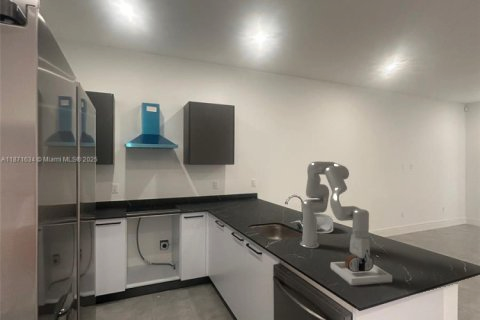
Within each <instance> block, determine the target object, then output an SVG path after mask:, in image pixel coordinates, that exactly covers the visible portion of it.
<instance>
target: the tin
mask: <svg viewBox="0 0 480 320" xmlns="http://www.w3.org/2000/svg"><path fill="white" fill-rule="evenodd" d="M362 260H363V259H362ZM369 260H370V261H368V262H366V263H365V271H370V270H371V269H372V268H373V264H374V265H375V263H374V262H375V261H374V259H373V257H371V255H370V256H369ZM344 262H345V265H346V268H347V269H349V270H350V271H352V272H364V271H359V263H360V258H359V257H357V256H356V255H354V254H352V253H351V254H350V255H348V256H347V257H346V258H345V261H344Z"/></svg>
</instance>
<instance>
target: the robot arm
mask: <svg viewBox="0 0 480 320" xmlns="http://www.w3.org/2000/svg"><path fill="white" fill-rule="evenodd" d="M306 173H307V180H306V181H307V182H306V188H305V195H306V197H307V198H309V199H304V200H303V201H302V202H301V211H302V236H301V238H302V240H301V241H300V243H299V244H300V246H302V247H303V248H306V249H318V248H320V243H318V242H317V241H318V233H317V232H318V229H317V218H316V216H315V215H314V214H324V213H325V212H326V211H327V209H328V204H329V203H330V204H329V205H330V208H331V211H332V214H333V216H334V217H335V218H336V220H338V221H341V222H344V221H345V222H346V221H347V222H348V221H352V226H351V227H352V230H351V231H352V232H351V236H350V242H349V252H350V253H351V255H352V254H354V255H356V256H357V257H359V258H360V263H359V271H365V263H366V262H368V261H370V260H369V256H370V257H371V255H370V254H371V252H370V251H371V247H370V239H369V236H370V235H369V229H370V226H369V225H370V223H369V222H370V213H369V211H368V210H367V209H362V208H360V207H358V206H355V205H347V206H343V205H341V203H340V195H342V194H344V193H345V192H346V191H347V190H348V186H347V185H346V182H345V180H347V179H348V178H349V177H350V171H349V169H348V168H347V167H346V165H343V164H340V163H337V162H333V161H312V162H310V163H309V164H308V166H307V172H306ZM320 175H324V176H325V178H326V179H327V183H328V185H329V187H330V189H329V187H328V186H327V185H326V184H324V183H322V184H321V180H322V178H321V176H320ZM330 190H331V195H330ZM329 198H330V199H329ZM362 259H363V260H362Z"/></svg>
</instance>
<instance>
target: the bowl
mask: <svg viewBox="0 0 480 320" xmlns="http://www.w3.org/2000/svg"><path fill="white" fill-rule="evenodd" d="M314 215H315V216H316V218H317V234H318V233H319V234H329V233H332V232H333V231H334V219H333V217H332V216H330V215H328V214H324V213H314ZM321 229H322V230H324V231H320V230H321Z"/></svg>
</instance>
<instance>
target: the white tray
mask: <svg viewBox="0 0 480 320" xmlns="http://www.w3.org/2000/svg"><path fill="white" fill-rule="evenodd" d="M330 269H331V270H332V272H334V273H335V274H336V275H338V276H339V277H341V278H342V279H343V281H346V282H347V283H348V284H349V285H350V286H361V285H373V284H385V283H386V284H387V283H393V275H392V274H391V273H389V272H387V271H385V270H383V268H380V267H379V266H378V265H376V264H375V263H374V264H373V268H372V269H371V270H370V271H364V272H352V271H350V270H349V269H347V268H346V265H345V261H333V262H330Z"/></svg>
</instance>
